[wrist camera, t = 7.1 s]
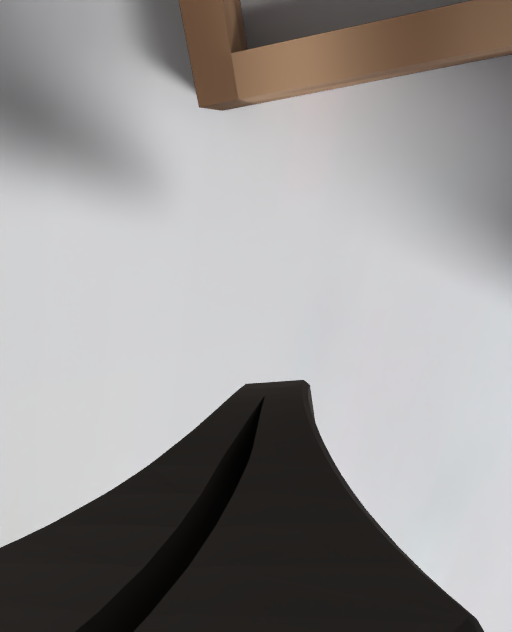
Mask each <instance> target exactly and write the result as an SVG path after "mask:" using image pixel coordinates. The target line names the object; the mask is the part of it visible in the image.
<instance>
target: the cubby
mask: <svg viewBox="0 0 512 632" xmlns="http://www.w3.org/2000/svg"><path fill="white" fill-rule="evenodd" d="M179 4H180V9H181V14H182V20H183V25H184V30H185V36H186V41H187V46H188V51H189V57H190V62H191V67H192V72H193V78H194V83H195V88H196V93H197V99H198V104H199V107H201V108H208V109H215V110H222V111H223V110H228V109H233V108H238V107H243V106H248V105H254V104H259V103H264V102H269V101H274V100H279V99H284V98H290V97H295V96H300V95H305V94H310V93H315V92H320V91H325V90H331V89H336V88H341V87H346V86H351V85H356V84H361V83H367V82H372V81H377V80H382V79H387V78H392V77H397V76H402V75H408V74H413V73H418V72H423V71H428V70H433V69H438V68H444V67H449V66H454V65H459V64H464V63H469V62H474V61H480V60H485V59H490V58H495V57H500V56H505V55H510V54H512V0H471V1H467V2H462V3H457V4H453V5H448V6H444V7H439V8H435V9H430V10H426V11H421V12H417V13H412V14H407V15H403V16H398V17H394V18H389V19H385V20H380V21H376V22H371V23H367V24H362V25H357V26H353V27H348V28H344V29H339V30H335V31H330V32H326V33H321V34H317V35H312V36H307V37H303V38H298V39H294V40H289V41H285V42H280V43H276V44H271V45H266V46H262V47H257V48H253V49H248V50H247V44H246V37H245V31H244V24H243V17H242V11H241V4H240V0H179Z"/></svg>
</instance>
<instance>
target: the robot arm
mask: <svg viewBox="0 0 512 632" xmlns="http://www.w3.org/2000/svg"><path fill="white" fill-rule="evenodd" d="M0 632H484V631H483V629H482V627H481V625H480V624H479V622H478V620H477V619H476V618H475V617H474V616H473V615H472V614H470V613H469V612H468V611H467V610H466V609H465V608H463V607H462V606H461V605H460V604H459V603H458V602H456V601H455V600H454V599H453V598H452V597H450V596H449V595H448V594H447V593H446V592H445V591H444V590H443V589H442V588H440V587H439V586H438V585H437V584H436V583H435V582H434V581H433V580H432V579H431V578H429V577H428V576H427V575H426V574H425V573H424V572H423V571H422V570H421V569H420V568H419V567H418V566H417V565H416V564H415V563H414V562H413V561H412V560H411V559H410V558H409V557H408V556H407V555H406V554H405V553H404V552H403V551H402V550H401V549H400V548H399V547H398V546H397V545H396V544H395V542H394V541H393V540H392V539H391V538H390V537H389V536H388V534H387V533H386V532H385V531H384V530H383V529H382V528H381V526H380V525H379V524H378V523H377V522H376V521H375V519H374V518H373V517H372V516H371V515H370V514H369V513H368V511H367V510H366V509H365V508H364V506H363V505H362V504H361V502H360V501H359V499H358V498H357V497H356V495H355V494H354V493H353V491H352V490H351V488H350V487H349V485H348V484H347V482H346V481H345V479H344V478H343V476H342V475H341V473H340V472H339V470H338V468H337V467H336V465H335V463H334V461H333V460H332V458H331V456H330V454H329V452H328V450H327V448H326V446H325V444H324V442H323V440H322V438H321V436H320V433H319V431H318V428H317V426H316V423H315V418H314V411H313V404H312V397H311V390H310V385H309V384H308V383H307V382H306V381H304V380H296V381H282V382H268V383H253V384H245V385H244V386H243V387H241V388H240V389H239V390H238V391H237V392H235V393H234V394H233V395H232V396H231V397H230V398H229V399H228V400H227V401H225V402H224V403H223V404H222V405H221V406H220V407H219V408H218V409H217V410H215V411H214V412H213V413H212V414H211V415H210V416H209V417H208V418H206V419H205V420H204V421H203V422H202V423H201V424H200V425H199V426H197V427H196V428H195V429H194V430H193V431H192V432H190V433H189V434H188V435H187V436H185V437H184V438H183V439H182V440H180V441H179V442H178V443H177V444H175V445H174V446H173V447H172V448H170V449H169V450H168V451H167V452H165V453H164V454H163V455H162V456H160V457H159V458H158V459H156V460H155V461H154V462H152V463H151V464H150V465H148V466H147V467H145V468H144V469H143V470H141V471H140V472H138V473H137V474H135V475H134V476H132V477H131V478H129V479H128V480H126V481H125V482H123V483H121V484H120V485H118V486H117V487H115V488H114V489H112V490H111V491H109V492H107V493H106V494H104V495H102V496H101V497H99V498H97V499H95V500H93V501H92V502H90V503H88V504H86V505H84V506H83V507H81V508H79V509H77V510H75V511H74V512H72V513H70V514H68V515H66V516H65V517H63V518H61V519H59V520H57V521H56V522H54V523H52V524H50V525H48V526H46V527H44V528H42V529H40V530H37V531H35V532H33V533H31V534H29V535H27V536H25V537H23V538H21V539H19V540H17V541H14V542H12V543H10V544H8V545H5V546H3V547H1V548H0Z"/></svg>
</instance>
